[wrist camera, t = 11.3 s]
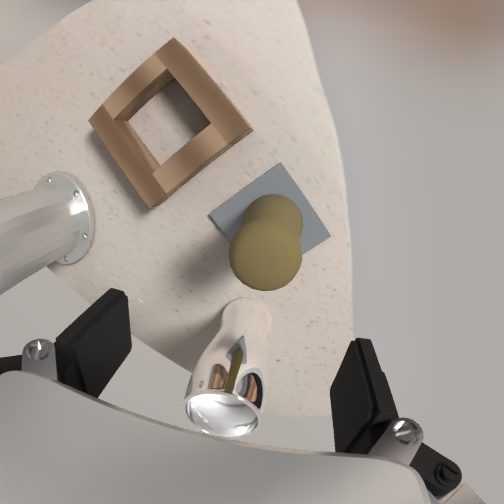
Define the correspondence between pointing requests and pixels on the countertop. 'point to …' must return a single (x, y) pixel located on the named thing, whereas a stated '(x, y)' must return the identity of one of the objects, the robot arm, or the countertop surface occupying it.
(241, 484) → the robot arm
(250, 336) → the beer glass
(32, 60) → the countertop surface
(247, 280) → the olive rounded peg
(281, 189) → the rubber mat
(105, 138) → the wooden square frame
